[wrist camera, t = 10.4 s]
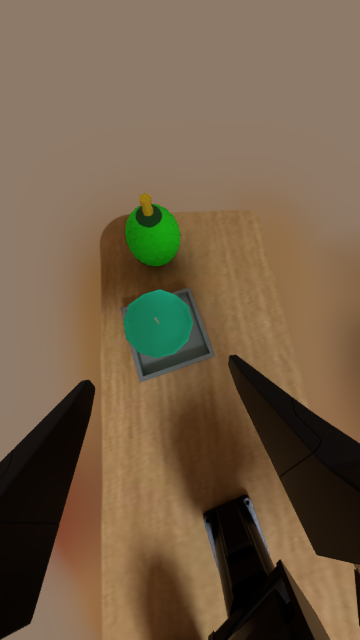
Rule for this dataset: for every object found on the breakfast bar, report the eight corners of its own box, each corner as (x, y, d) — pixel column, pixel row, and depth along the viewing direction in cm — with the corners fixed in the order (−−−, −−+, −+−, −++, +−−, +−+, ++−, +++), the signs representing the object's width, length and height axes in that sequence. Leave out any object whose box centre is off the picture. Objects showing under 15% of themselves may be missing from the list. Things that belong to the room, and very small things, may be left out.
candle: (193, 341, 22) (210, 334, 10) (158, 360, 22) (135, 375, 10) (175, 309, 23) (172, 269, 11) (141, 326, 23) (102, 302, 11)
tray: (212, 355, 22) (215, 356, 20) (143, 379, 22) (139, 382, 20) (188, 291, 24) (189, 286, 23) (125, 311, 24) (120, 308, 22)
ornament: (183, 271, 25) (187, 223, 15) (137, 279, 25) (111, 234, 15) (175, 233, 27) (174, 166, 17) (132, 239, 26) (105, 174, 17)
